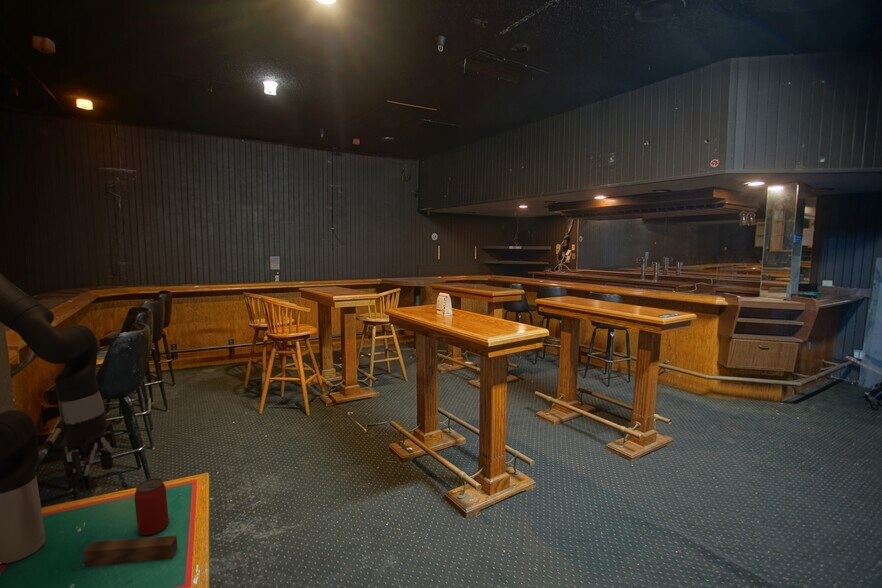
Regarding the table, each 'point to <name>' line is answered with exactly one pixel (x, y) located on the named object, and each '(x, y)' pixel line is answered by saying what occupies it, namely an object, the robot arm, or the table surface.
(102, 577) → the table surface
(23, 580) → the table surface
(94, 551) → the walnut plank
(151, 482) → the beer can
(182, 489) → the table surface
